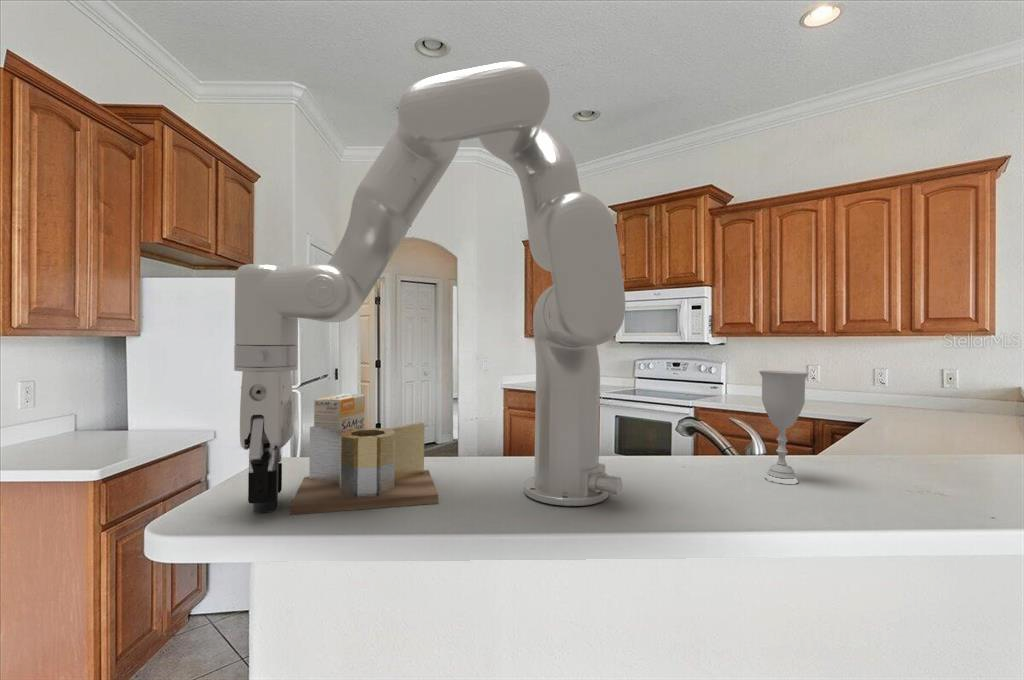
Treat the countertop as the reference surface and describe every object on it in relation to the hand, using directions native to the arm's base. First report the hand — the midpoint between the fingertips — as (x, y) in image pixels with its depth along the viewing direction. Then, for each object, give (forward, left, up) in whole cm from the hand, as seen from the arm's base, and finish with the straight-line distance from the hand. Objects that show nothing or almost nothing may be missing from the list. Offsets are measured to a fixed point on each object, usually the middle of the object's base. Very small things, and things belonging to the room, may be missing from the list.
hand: (265, 496), depth 65 cm
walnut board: (-5, -13, -2) cm, 14 cm away
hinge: (-5, -13, -1) cm, 13 cm away
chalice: (-51, -61, -2) cm, 79 cm away
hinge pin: (0, 0, -2) cm, 2 cm away
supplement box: (+7, -16, -2) cm, 17 cm away
